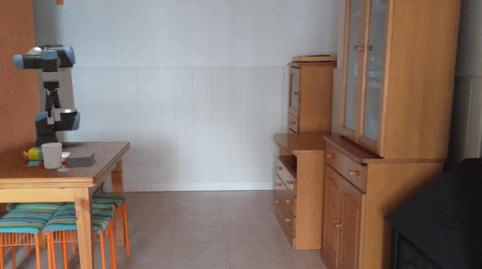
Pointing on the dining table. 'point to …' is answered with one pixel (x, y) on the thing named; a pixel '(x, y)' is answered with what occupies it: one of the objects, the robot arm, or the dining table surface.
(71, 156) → the block
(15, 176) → the dining table surface
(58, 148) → the candle holder
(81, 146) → the dining table surface
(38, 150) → the yellow and blue toy
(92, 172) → the dining table surface
